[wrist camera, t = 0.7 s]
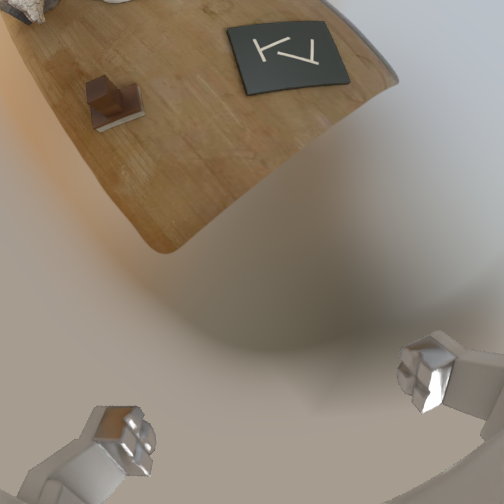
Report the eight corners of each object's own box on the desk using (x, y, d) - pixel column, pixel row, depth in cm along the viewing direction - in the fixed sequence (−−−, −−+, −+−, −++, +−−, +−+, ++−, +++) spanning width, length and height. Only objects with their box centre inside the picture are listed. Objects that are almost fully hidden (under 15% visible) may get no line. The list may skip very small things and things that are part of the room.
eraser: (97, 106, 36) (69, 86, 26) (140, 89, 37) (121, 62, 27) (100, 132, 37) (71, 116, 27) (145, 115, 38) (125, 92, 28)
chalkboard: (226, 31, 36) (226, 28, 35) (322, 23, 37) (324, 20, 36) (247, 96, 39) (247, 94, 38) (348, 84, 40) (351, 82, 39)
